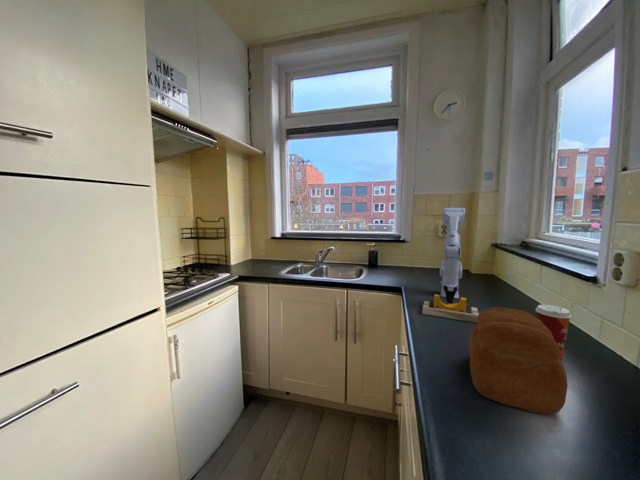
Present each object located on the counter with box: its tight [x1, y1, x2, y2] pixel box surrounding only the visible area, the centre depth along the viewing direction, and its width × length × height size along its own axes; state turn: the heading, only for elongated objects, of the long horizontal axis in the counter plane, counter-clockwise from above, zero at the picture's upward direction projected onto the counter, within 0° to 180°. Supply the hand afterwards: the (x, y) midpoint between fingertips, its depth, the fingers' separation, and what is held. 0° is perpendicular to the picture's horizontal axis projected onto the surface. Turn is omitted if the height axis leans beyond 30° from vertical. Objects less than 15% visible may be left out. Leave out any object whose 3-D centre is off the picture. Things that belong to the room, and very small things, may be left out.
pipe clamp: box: [433, 294, 467, 313], centre depth 109 cm, size 12×4×6 cm, turn 64°
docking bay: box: [421, 300, 480, 324], centre depth 106 cm, size 10×20×2 cm, turn 63°
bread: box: [468, 306, 568, 415], centre depth 62 cm, size 18×22×17 cm
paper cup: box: [535, 304, 572, 361], centre depth 74 cm, size 8×8×14 cm
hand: (449, 302), depth 115 cm, fingers closed
